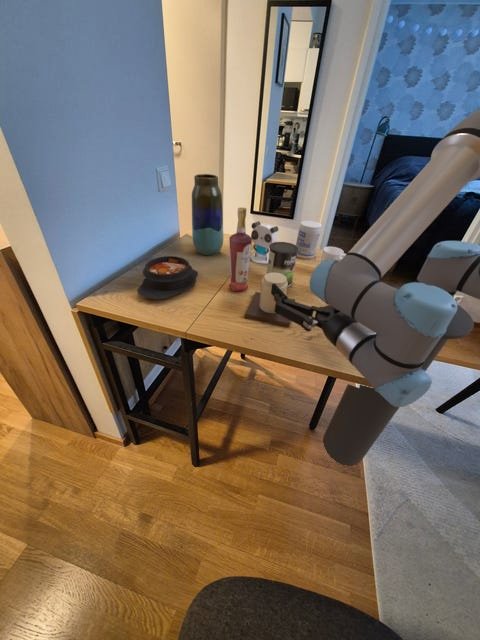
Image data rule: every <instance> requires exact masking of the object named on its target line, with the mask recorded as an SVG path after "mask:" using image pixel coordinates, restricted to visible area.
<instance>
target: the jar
mask: <svg viewBox="0 0 480 640" xmlns="http://www.w3.org/2000/svg"><path fill="white" fill-rule="evenodd" d="M260 283H261V284H260V292H259V293H260V301H259V307H260V309H261V310H263V311H265V312H267V313H275V312H274V310H275V303H276V302H275V300H274V296H273V295H272V294H271V289H272V284H276V285H277V286H278V287H279V289H280V290H281V291H282V292H283V293H284V294H285V295H286V296H287V290H288V287H287V286H288V282H287V278H286V276H284V275H283V274H280V273H275V272H272V273H267V272H266V274H264V275H263V278H262V279H261V282H260Z"/></svg>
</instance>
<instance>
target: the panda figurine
mask: <svg viewBox="0 0 480 640" xmlns="http://www.w3.org/2000/svg"><path fill="white" fill-rule="evenodd" d="M261 223H262V222H261V221H255V222H252V224H251V229H253V230H252V231H251V234H250V237H251V238H252V242H253V244H254V245H253V246H252V247H253V250H254V253H251V254H250V260H251V261H252V262H254V263H257V264H262V265H268V258H269V250H270V248H269V247H270V244H272V243H274V242H278V232H279V226H273V225H271V224H268V223H262V224H261Z"/></svg>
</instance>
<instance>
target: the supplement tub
mask: <svg viewBox="0 0 480 640" xmlns="http://www.w3.org/2000/svg"><path fill="white" fill-rule="evenodd" d="M322 227H323V225H322V224H321V223H320V222H317V221H314V220H302V221H301V222H300V225H299V227H298V233H297V238H296V243H295V245H296V246H297V247H298V252H297V258H300V259H306V260H309V259H313V258H315V256H316V252H317V248H318V245H319V240H320V237H321V232H322Z"/></svg>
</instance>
